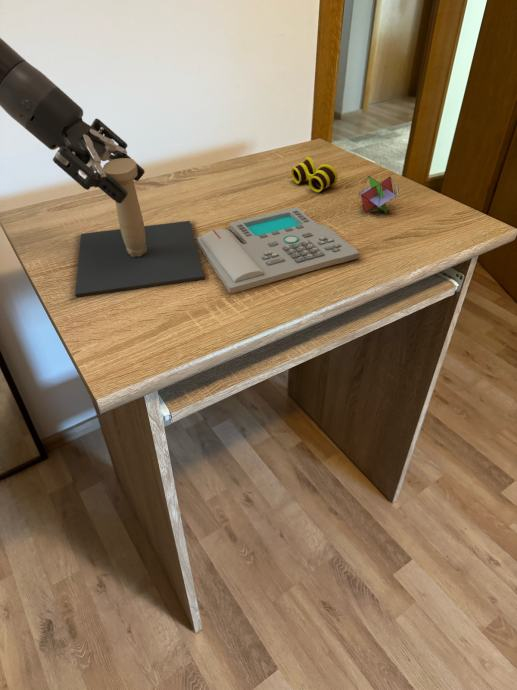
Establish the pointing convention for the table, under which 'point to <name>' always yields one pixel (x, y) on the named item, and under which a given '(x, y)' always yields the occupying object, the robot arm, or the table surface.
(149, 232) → the mat
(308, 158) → the opera glasses
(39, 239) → the table surface
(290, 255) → the office telephone
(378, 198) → the geometric puzzle
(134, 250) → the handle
